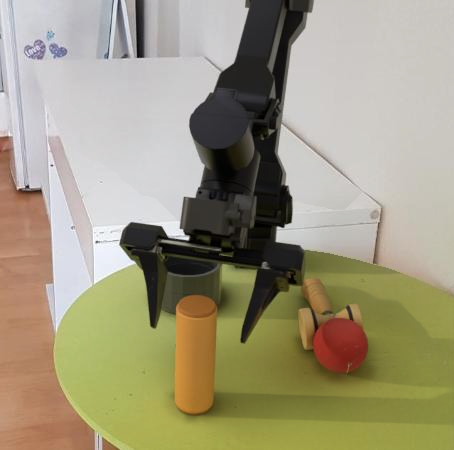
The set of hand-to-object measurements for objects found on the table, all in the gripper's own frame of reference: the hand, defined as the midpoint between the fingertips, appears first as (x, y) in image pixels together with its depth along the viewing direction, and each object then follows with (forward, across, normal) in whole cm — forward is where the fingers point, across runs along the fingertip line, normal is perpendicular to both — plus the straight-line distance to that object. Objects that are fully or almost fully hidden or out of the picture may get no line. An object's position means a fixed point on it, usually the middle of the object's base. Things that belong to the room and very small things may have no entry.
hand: (197, 335), depth 75 cm
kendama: (-5, +12, +17) cm, 21 cm away
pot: (-8, -6, +20) cm, 22 cm away
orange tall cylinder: (+6, 0, +6) cm, 8 cm away
